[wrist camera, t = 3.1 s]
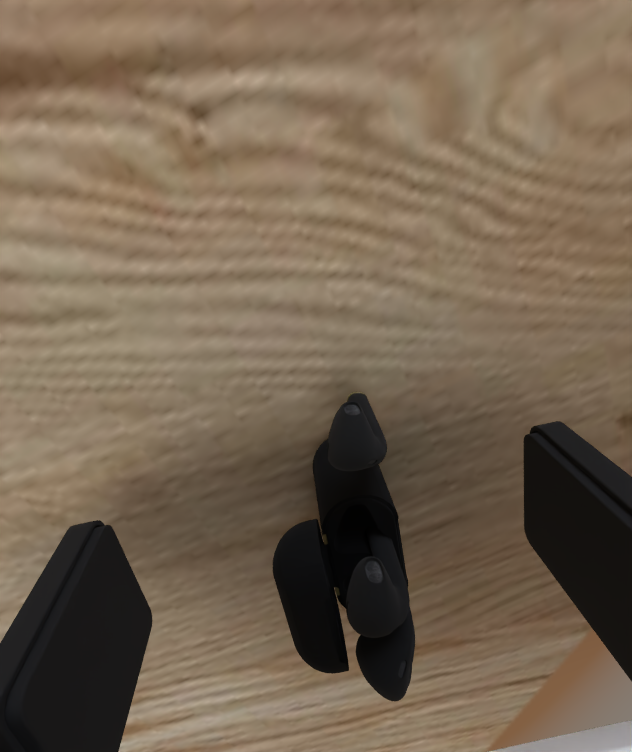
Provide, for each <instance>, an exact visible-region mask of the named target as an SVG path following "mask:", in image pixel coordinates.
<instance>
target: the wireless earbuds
mask: <svg viewBox="0 0 632 752" xmlns="http://www.w3.org/2000/svg"><path fill="white" fill-rule="evenodd" d="M386 452H387V444H386V440H385V437H384V435H383V432H382V430H381V428H380V426H379V423H378V421H377V419H376V417H375V415H374V412H373V410H372V408H371V406H370V404H369V401H368V399H367V397H366V395H365V394H363V393H361V392H354V393H351V394H350V395H349V396H348V399H347V402H346V403H344V404H343V405H342V406H341V407H340V408H339V410H338V411H337V413H336V415H335V417H334V420H333V423H332V426H331V429H330V433H329V437H328V439H327V440H325V441H324V442H323V443H322V444H321V445H320V446H319V448H318V450H317V451H316V453H315V456H314V460H313V474H314V481H315V488H316V494H317V501H318V508H319V515H320V522H321V529H322V535H321V531H320V527H319V523H318V520H317V519H314V520H309V521H305V522H302V523H299V524H297V525H295V526H294V527H292V528H291V529H289V530H288V531H287V532H286V533H285V534H284V536H283V537H282V538H281V540H280V541H279V543H278V545H277V548H276V550H275V553H274V558H273V575H274V579H275V582H276V585H277V589H278V592H279V595H280V599H281V602H282V605H283V608H284V612H285V615H286V618H287V622H288V625H289V628H290V631H291V635H292V638H293V641H294V644H295V647H296V649H297V651H298V653H299V655H300V656H301V657H302V659H303V660H304V661H305V662H306V663H307V664H308V665H310V666H311V667H312V668H314V669H316V670H318V671H321V672H324V673H340V672H345V671H349V665H348V658H347V651H346V645H345V639H344V634H343V628H342V623H341V618H340V613H339V608H338V603H337V599H336V595H337V598H338V600H339V602H340V603H341V605H342V606H344V607H345V608H346V611H347V617H348V620H349V623H350V625H351V626H352V628H353V629H354V630H355V631H356V632H357V633H359V634H361V635H360V637H359V639H358V641H357V645H356V656H357V660H358V663H359V666H360V669H361V671H362V673H363V675H364V677H365V678H366V680H367V681H368V683H369V684H370V685H371V686H372V687H373V688H374V689H375V690H376V691H377V692H378V693H379V694H380V695H382V696H383V697H384V698H386V699H388V700H391V701H399V700H401V699H402V698H403V697H404V695H405V693H406V691H407V688H408V686H409V683H410V679H411V672H412V662H413V656H414V649H415V632H414V625H413V620H412V614H411V610H410V606H409V593H408V579H407V575H406V570H405V563H404V556H403V549H402V543H401V536H400V529H399V523H398V519H399V518H398V514H397V511H396V509H395V506H394V504H393V501H392V498H391V496H390V493H389V491H388V488H387V485H386V483H385V480H384V478H383V475H382V472H381V470H380V467H379V465H378V464H379V463H380V462H382V460H383V459H384V457H385V455H386ZM322 536H323V539H322ZM323 540H324V542H323ZM334 587H335V590H334ZM335 591H336V594H335Z"/></svg>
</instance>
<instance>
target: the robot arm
mask: <svg viewBox="0 0 632 752" xmlns="http://www.w3.org/2000/svg"><path fill="white" fill-rule="evenodd" d="M524 529H525V534H526V537H527V539H528V541H529V543H530V544H531V546H532V547H533V549H534V550H535V551H536V553H537V554H538V555H539V557H540V558H541V559H542V561H543V562H544V564H545V565H546V566H547V568H548V569H549V570H550V572H551V573H552V574H553V576H554V577H555V578H556V580H557V581H558V582H559V584H560V585H561V586H562V588H563V589H564V591H565V592H566V593H567V595H568V596H569V597H570V599H571V600H572V601H573V603H574V604H575V605H576V607H577V608H578V609H579V611H580V612H581V614H582V615H583V616H584V618H585V619H586V620H587V622H588V623H589V624H590V626H591V627H592V628H593V630H594V631H595V632H596V634H597V635H598V636H599V638H600V639H601V641H602V642H603V643H604V645H605V646H606V647H607V649H608V650H609V651H610V653H611V654H612V655H613V657H614V658H615V659H616V661H617V662H618V663H619V665H620V666H621V668H622V669H623V670H624V672H625V673H626V674H627V676H628V677H629V678H630V680H631V681H632V477H631V476H630V475H628V474H627V473H626V472H625V471H623V470H622V469H621V468H620V467H618V466H617V465H616V464H614V463H613V462H612V461H611V460H609V459H608V458H607V457H606V456H604V455H603V454H602V453H600V452H599V451H598V450H597V449H595V448H594V447H593V446H592V445H590V444H589V443H588V442H587V441H585V440H584V439H583V438H581V437H580V436H579V435H578V434H576V433H575V432H574V431H573V430H571V429H570V428H569V427H567V426H566V425H565V424H564V423H562V422H559V421H556V422H552V423H547V424H542V425H538V426H534V427H532V428H531V430H530V434H527V435H525V437H524ZM151 627H152V614H151V610H150V607H149V605H148V603H147V601H146V599H145V597H144V595H143V592H142V590H141V588H140V586H139V584H138V582H137V579H136V577H135V575H134V573H133V571H132V569H131V567H130V564H129V562H128V560H127V558H126V556H125V554H124V551H123V549H122V547H121V545H120V543H119V541H118V539H117V536H116V534H115V532H114V530H113V528H112V527H111V526H110V525H104V524H103V523H102V522H101V521H98V520H97V521H92V522H87V523H83V524H78V525H73V526H71V527H70V528H69V529H68V530H67V532H66V533H65V535H64V537H63V539H62V540H61V542H60V544H59V545H58V547H57V549H56V550H55V552H54V554H53V555H52V557H51V559H50V560H49V562H48V564H47V565H46V567H45V569H44V571H43V572H42V574H41V576H40V577H39V579H38V581H37V582H36V584H35V586H34V587H33V589H32V591H31V592H30V594H29V596H28V598H27V599H26V601H25V603H24V604H23V606H22V608H21V609H20V611H19V613H18V614H17V616H16V618H15V619H14V621H13V623H12V624H11V626H10V628H9V630H8V631H7V633H6V635H5V636H4V638H3V640H2V641H1V643H0V752H118V751H119V747H120V743H121V740H122V736H123V732H124V728H125V725H126V721H127V717H128V713H129V710H130V706H131V702H132V699H133V695H134V691H135V687H136V684H137V680H138V676H139V672H140V669H141V665H142V661H143V658H144V654H145V650H146V646H147V643H148V639H149V635H150V631H151ZM488 752H632V720H630V721H625V722H620V723H615V724H610V725H606V726H601V727H597V728H592V729H588V730H583V731H578V732H574V733H570V734H565V735H561V736H556V737H552V738H547V739H543V740H538V741H534V742H529V743H524V744H520V745H516V746H511V747H506V748H502V749H497V750H493V751H488Z"/></svg>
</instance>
